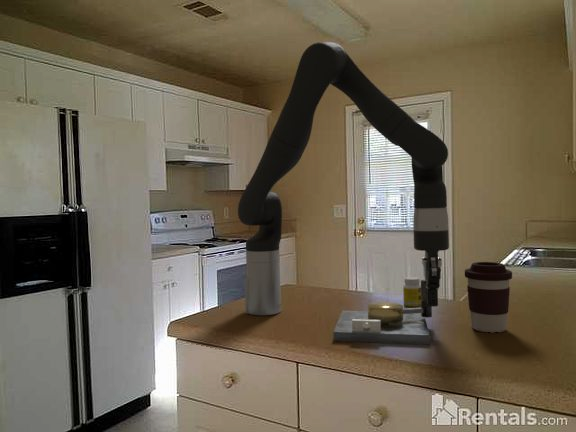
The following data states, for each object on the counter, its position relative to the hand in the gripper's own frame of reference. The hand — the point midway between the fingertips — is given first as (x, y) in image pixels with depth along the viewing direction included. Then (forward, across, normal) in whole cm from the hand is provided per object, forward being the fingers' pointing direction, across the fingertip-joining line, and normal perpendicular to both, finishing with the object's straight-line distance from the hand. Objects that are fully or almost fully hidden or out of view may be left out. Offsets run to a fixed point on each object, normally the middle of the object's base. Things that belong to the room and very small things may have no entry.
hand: (432, 305), depth 103 cm
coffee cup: (+6, +5, -13) cm, 15 cm away
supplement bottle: (+6, +23, +3) cm, 24 cm away
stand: (+6, +1, +11) cm, 13 cm away
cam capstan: (+3, +2, +7) cm, 8 cm away
